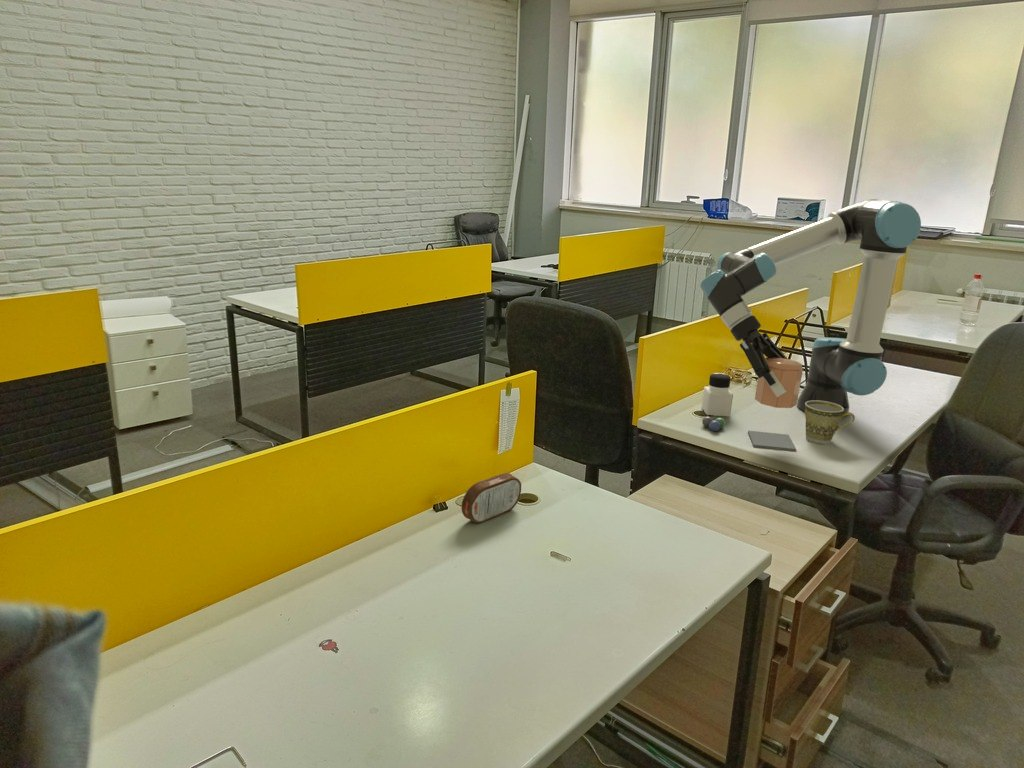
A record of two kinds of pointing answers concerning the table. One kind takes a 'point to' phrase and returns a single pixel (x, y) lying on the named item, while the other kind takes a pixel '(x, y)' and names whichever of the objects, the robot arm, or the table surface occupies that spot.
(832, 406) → the ceramic cup
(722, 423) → the bottle-green marble
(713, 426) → the navy marble
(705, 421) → the charcoal marble
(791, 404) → the peach domed post
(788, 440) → the slate mat
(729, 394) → the medicine bottle
